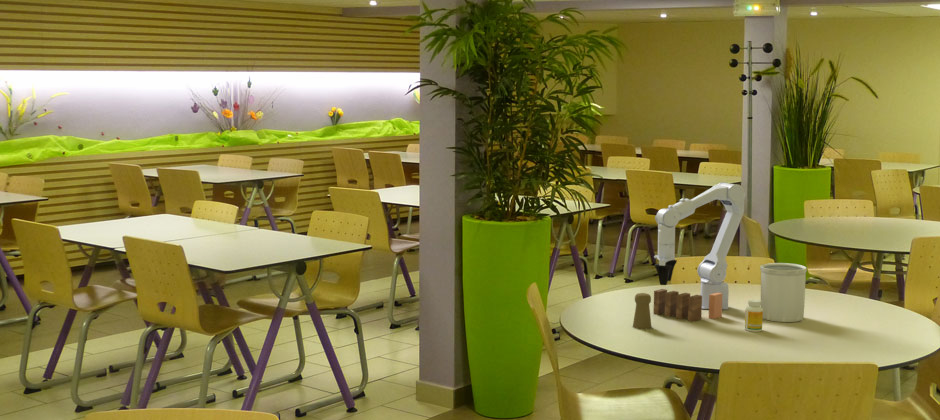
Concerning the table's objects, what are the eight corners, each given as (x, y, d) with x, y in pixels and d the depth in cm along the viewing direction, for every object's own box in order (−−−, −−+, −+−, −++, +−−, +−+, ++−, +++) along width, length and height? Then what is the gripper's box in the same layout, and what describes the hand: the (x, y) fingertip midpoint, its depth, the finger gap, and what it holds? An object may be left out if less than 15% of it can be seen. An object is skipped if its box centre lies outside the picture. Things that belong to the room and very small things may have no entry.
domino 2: (677, 314, 336) (678, 291, 335) (669, 317, 332) (670, 293, 331) (672, 313, 337) (673, 290, 336) (664, 316, 333) (665, 292, 332)
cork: (652, 325, 320) (653, 292, 319) (650, 330, 314) (651, 296, 313) (634, 324, 322) (635, 291, 321) (631, 328, 316) (631, 294, 315)
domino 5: (721, 316, 333) (722, 293, 332) (713, 319, 330) (714, 295, 329) (716, 315, 335) (717, 292, 334) (708, 318, 331) (709, 294, 330)
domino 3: (689, 316, 333) (690, 293, 332) (681, 319, 329) (682, 295, 328) (684, 315, 334) (685, 292, 333) (676, 318, 330) (677, 294, 329)
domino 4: (701, 319, 329) (702, 295, 328) (693, 321, 326) (694, 297, 325) (696, 318, 331) (696, 294, 330) (688, 320, 327) (688, 296, 326)
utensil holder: (750, 317, 331) (752, 266, 329) (770, 310, 342) (772, 260, 340) (792, 325, 321) (794, 272, 319) (811, 317, 332) (814, 266, 330)
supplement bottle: (741, 328, 316) (742, 299, 315) (755, 327, 318) (756, 298, 317) (751, 332, 311) (752, 302, 310) (765, 331, 313) (766, 301, 312)
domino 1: (666, 312, 339) (667, 289, 338) (658, 314, 335) (659, 291, 334) (661, 311, 340) (662, 288, 339) (653, 314, 337) (654, 290, 336)
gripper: (658, 240, 347) (657, 278, 349) (650, 246, 334) (649, 285, 336) (678, 241, 345) (678, 279, 346) (671, 247, 331) (670, 287, 333)
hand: (665, 282), depth 341 cm, fingers open, 7 cm apart
